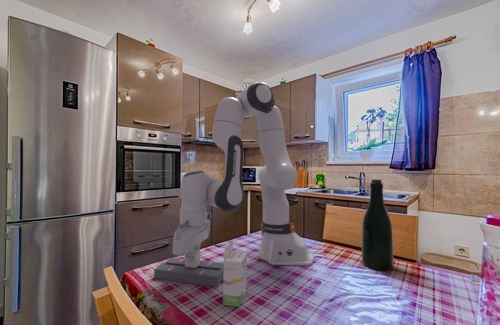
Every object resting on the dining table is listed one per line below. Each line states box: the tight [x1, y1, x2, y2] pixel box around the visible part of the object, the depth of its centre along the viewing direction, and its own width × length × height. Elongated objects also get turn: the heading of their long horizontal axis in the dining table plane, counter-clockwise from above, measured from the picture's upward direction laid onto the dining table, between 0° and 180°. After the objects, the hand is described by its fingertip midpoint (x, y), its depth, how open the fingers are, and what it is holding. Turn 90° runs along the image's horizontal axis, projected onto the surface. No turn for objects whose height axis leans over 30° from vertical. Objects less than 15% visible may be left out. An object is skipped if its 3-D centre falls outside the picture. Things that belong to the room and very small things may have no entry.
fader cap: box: [184, 248, 201, 268], centre depth 75 cm, size 4×3×6 cm
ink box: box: [222, 240, 248, 308], centre depth 62 cm, size 9×5×15 cm, turn 168°
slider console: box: [153, 257, 224, 288], centre depth 75 cm, size 22×10×3 cm, turn 78°
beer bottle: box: [361, 178, 394, 272], centre depth 85 cm, size 10×10×33 cm
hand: (192, 259), depth 75 cm, fingers closed on fader cap, 3 cm apart
